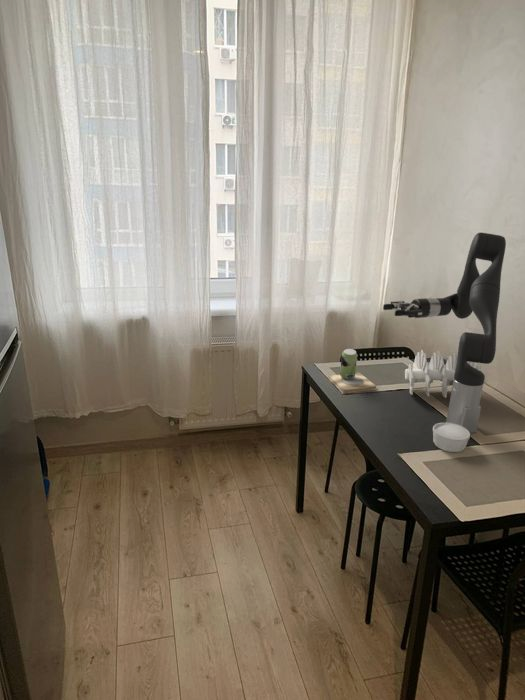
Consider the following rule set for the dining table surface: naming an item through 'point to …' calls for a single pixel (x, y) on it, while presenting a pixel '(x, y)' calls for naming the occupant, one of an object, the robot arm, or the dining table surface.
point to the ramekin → (450, 437)
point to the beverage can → (348, 364)
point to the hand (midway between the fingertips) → (389, 310)
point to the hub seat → (352, 383)
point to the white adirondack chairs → (433, 370)
